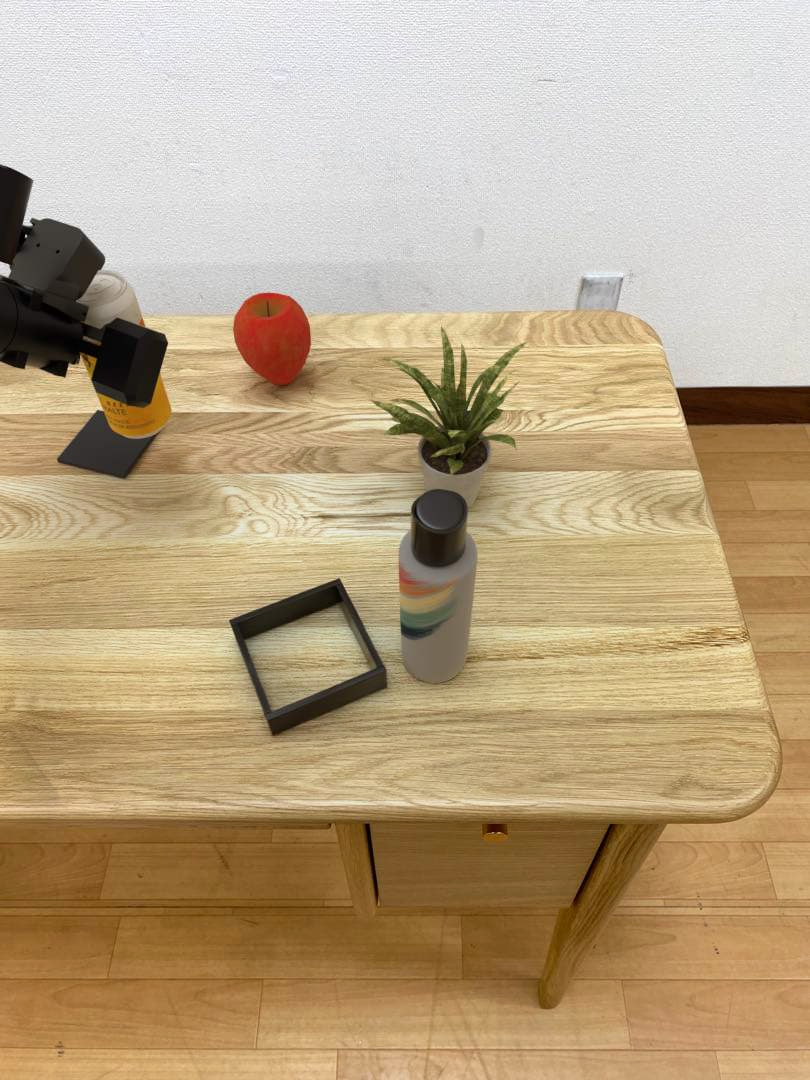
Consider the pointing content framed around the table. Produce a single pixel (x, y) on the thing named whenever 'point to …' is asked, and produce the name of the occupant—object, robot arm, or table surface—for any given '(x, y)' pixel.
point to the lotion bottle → (436, 586)
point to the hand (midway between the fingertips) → (130, 355)
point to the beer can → (105, 304)
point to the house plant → (453, 423)
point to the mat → (104, 448)
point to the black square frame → (292, 611)
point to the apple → (273, 336)
